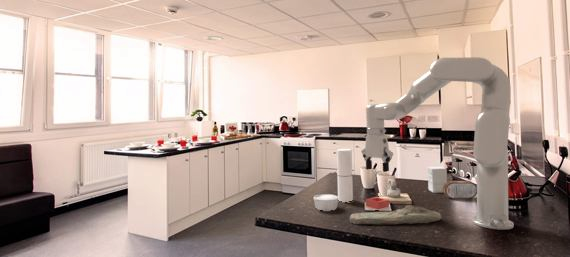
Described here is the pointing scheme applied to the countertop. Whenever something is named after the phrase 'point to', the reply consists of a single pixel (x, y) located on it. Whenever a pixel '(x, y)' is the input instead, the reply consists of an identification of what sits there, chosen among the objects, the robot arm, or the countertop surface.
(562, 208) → the countertop surface
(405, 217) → the elongated rock
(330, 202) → the ramekin
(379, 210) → the pad
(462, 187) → the tin
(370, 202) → the red white square box
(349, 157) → the cylindrical container
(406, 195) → the stand
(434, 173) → the supplement box
